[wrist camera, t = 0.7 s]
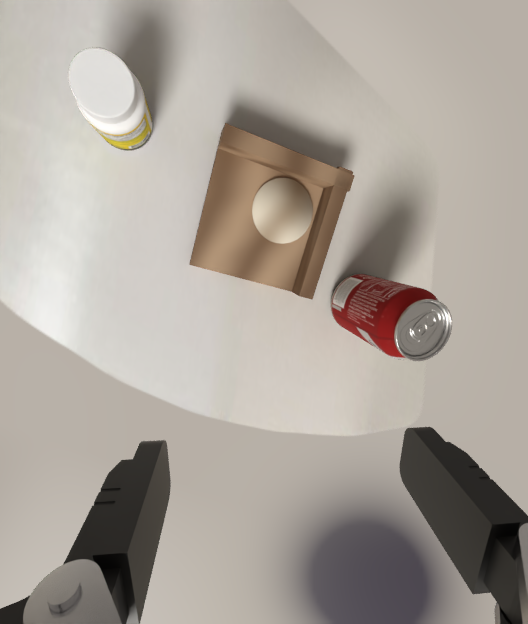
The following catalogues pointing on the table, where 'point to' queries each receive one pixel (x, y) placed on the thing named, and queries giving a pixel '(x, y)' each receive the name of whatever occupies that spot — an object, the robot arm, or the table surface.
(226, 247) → the wooden tray
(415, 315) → the soda can
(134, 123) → the supplement bottle
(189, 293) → the table surface
